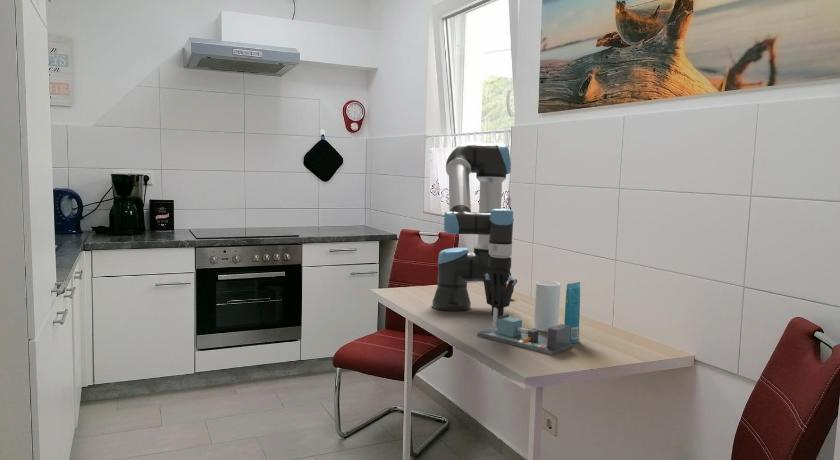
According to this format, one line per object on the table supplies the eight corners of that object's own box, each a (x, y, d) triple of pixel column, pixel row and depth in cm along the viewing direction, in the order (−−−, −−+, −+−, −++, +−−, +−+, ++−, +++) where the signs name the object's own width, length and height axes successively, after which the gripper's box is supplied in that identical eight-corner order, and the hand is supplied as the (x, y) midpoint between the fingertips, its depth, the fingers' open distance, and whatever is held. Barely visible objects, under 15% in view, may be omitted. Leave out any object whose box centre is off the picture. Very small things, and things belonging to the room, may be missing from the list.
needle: (521, 342, 192) (521, 332, 192) (532, 338, 197) (533, 329, 197) (526, 343, 191) (526, 334, 191) (538, 339, 196) (538, 330, 196)
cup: (544, 332, 210) (546, 286, 208) (529, 326, 217) (531, 281, 215) (563, 330, 214) (565, 284, 212) (547, 324, 221) (550, 280, 219)
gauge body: (497, 333, 202) (498, 316, 201) (506, 330, 205) (506, 313, 205) (525, 340, 194) (526, 322, 194) (534, 337, 198) (535, 320, 197)
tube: (569, 337, 204) (572, 280, 202) (582, 340, 201) (586, 282, 199) (558, 342, 199) (561, 283, 197) (572, 345, 195) (575, 285, 194)
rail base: (477, 335, 203) (478, 314, 202) (498, 329, 212) (499, 309, 211) (552, 355, 184) (553, 331, 183) (572, 347, 193) (573, 324, 192)
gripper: (477, 254, 204) (474, 324, 206) (509, 259, 195) (506, 332, 197) (490, 253, 210) (488, 321, 212) (523, 257, 201) (519, 328, 203)
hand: (496, 326), depth 205 cm, fingers closed
